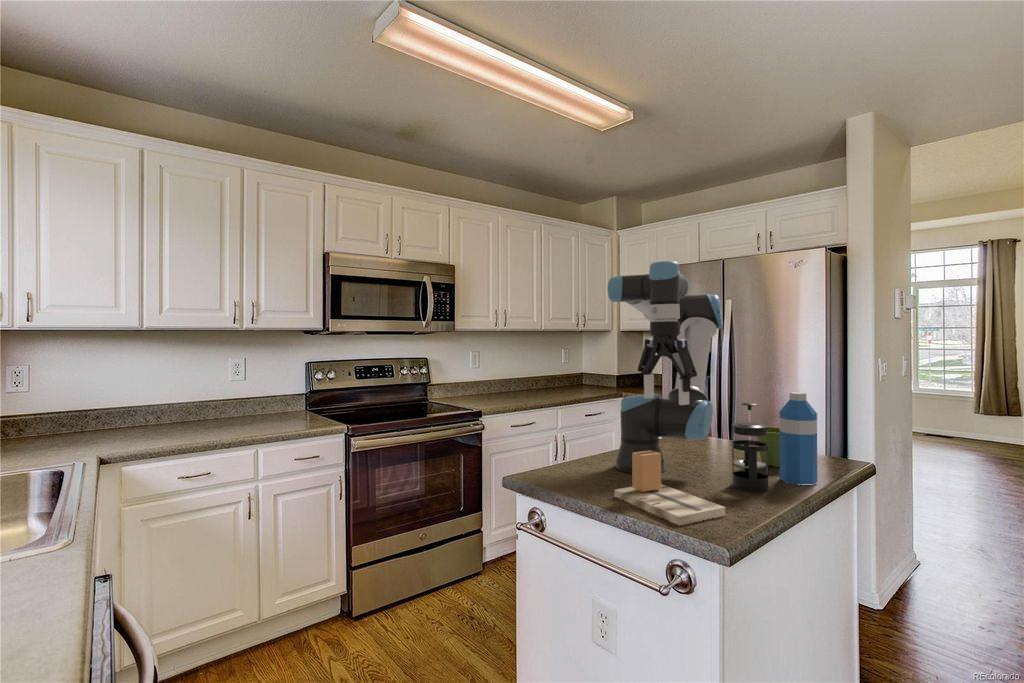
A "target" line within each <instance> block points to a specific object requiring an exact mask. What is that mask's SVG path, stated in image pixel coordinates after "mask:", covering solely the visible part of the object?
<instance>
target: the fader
mask: <svg viewBox="0 0 1024 683" xmlns="http://www.w3.org/2000/svg"><path fill="white" fill-rule="evenodd" d="M631 474H632V475H631V476H632V479H631V480H632V485H631V487H632V488H634V489H637V490H639V491H642V492H645V491H650V490H656V489H661V484H662V472H661V453H658V452H657V451H651V450H650V451H642V452H634V453H632V473H631Z"/></svg>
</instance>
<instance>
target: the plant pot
mask: <svg viewBox="0 0 1024 683" xmlns="http://www.w3.org/2000/svg"><path fill="white" fill-rule="evenodd" d="M756 438H757V441H760V442H764V443H767V444H768V467H769V466H771V467H774V468H780V426H779V427H778V426H768V428H767V429H766V435H763V436H756ZM759 457H760V462H763V463H765V464H766V451H760V452H759Z"/></svg>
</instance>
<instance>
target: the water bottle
mask: <svg viewBox="0 0 1024 683" xmlns="http://www.w3.org/2000/svg"><path fill="white" fill-rule="evenodd" d="M779 428H780V467H779V480H780V479H781V480H783V481H785V482H788V483H793V484H792V485H794V484H800V485H801V484H814V483H816V482H817V483H818V413H817V412H816V410H815V409H814V407H812V404H810V403H809V402H808V400H807V392H806V393H805V392H798V391H797V392H793V391H792V392H789V400H788V401H787V402H786V403H785V405H784V406H783V407H782V408H781V409H780V411H779ZM781 480H780V481H781ZM783 481H782V482H783ZM785 482H784V483H785ZM788 483H787V484H788Z"/></svg>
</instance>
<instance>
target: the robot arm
mask: <svg viewBox="0 0 1024 683" xmlns="http://www.w3.org/2000/svg"><path fill="white" fill-rule="evenodd" d="M679 266H680V264H679V263H678V261H673V260H665V261H656V262H655V261H654V262H652V263H651V264H650V265H649V271H648V272H649V273H648V274H647V273H646V274H636V275H635V274H633V275H629V274H628V275H617V276H611V277H610V279H609V280H608V282H607V296H608V298H609V300H610V301H611V302H613V303H626V304H628V305H630V306H631V307H633V308H634V309H636V311H637V310H638V311H639V312H641V313H642V314H643V316H644V318H645V319H646V320H647V321H648V322H650V324H649V329H650V330H649V335H650V336H652V338H645V339H644V344H643V345H644V347H643V350H642V353H641V356H640V359H639V363H638V367H637V371H638V372H640V373H641V374H642V375H643V377H642V381H643V382H642V383H643V387H644V388H643V389H644V390H643V394H642V393H641V394H633V395H628V396H624V397H623V398H622V399H621V402H620V411H619V412H620V446H619V449H618V451H617V456H616V458H615V468H617V469H616V470H617V471H620V470H621V472H623V473H627V472H628V474H632V453H634V452H642V451H650V450H651V451H657V452H658V453H661V473H664V472H665V471H666V461H665V460H664V457H663V456H664V454H663V453H662V452H663V451H662V450H661V447H660V438H666V439H667V438H668V439H669V438H670V439H681V440H688V441H693V440H695V441H702V440H704V439H706V438H707V437H708V435H709V433H710V430H711V428H712V423H713V415H714V410H713V408H714V407H713V404H712V402H711V401H709V398H708V396H707V394H705V384H706V380H707V379H706V378H707V370H708V363H709V355H710V347H711V341H712V339H711V338H713V337H714V336H715V335H716V334H717V330H718V329H722V328H723V326H724V319H723V311H722V304H721V300H720V297H719V296H718V295H717V294H712V293H710V294H707V293H705V294H697V295H696V294H694V295H693V294H692V295H688V293H689V291H690V282H689V279H688V278H687V277H686V276H685V275H684V274H682V273H681V272H680V267H679ZM681 333H682V334H683V338H681V339H678V336H680V334H681ZM661 357H667V358H668V359H670V360H671V363H672V364H673V366H674V368H675V370H676V371H677V375H676V380H675V387H674V389H671V390H670V391H669V392H668V397H667V398H660V395H659V394H658V393H655V381H654V375H655V374H654V372H653V371H654V369H655V367H656V366H657V364H658V362H659V361H660V359H661Z"/></svg>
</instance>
